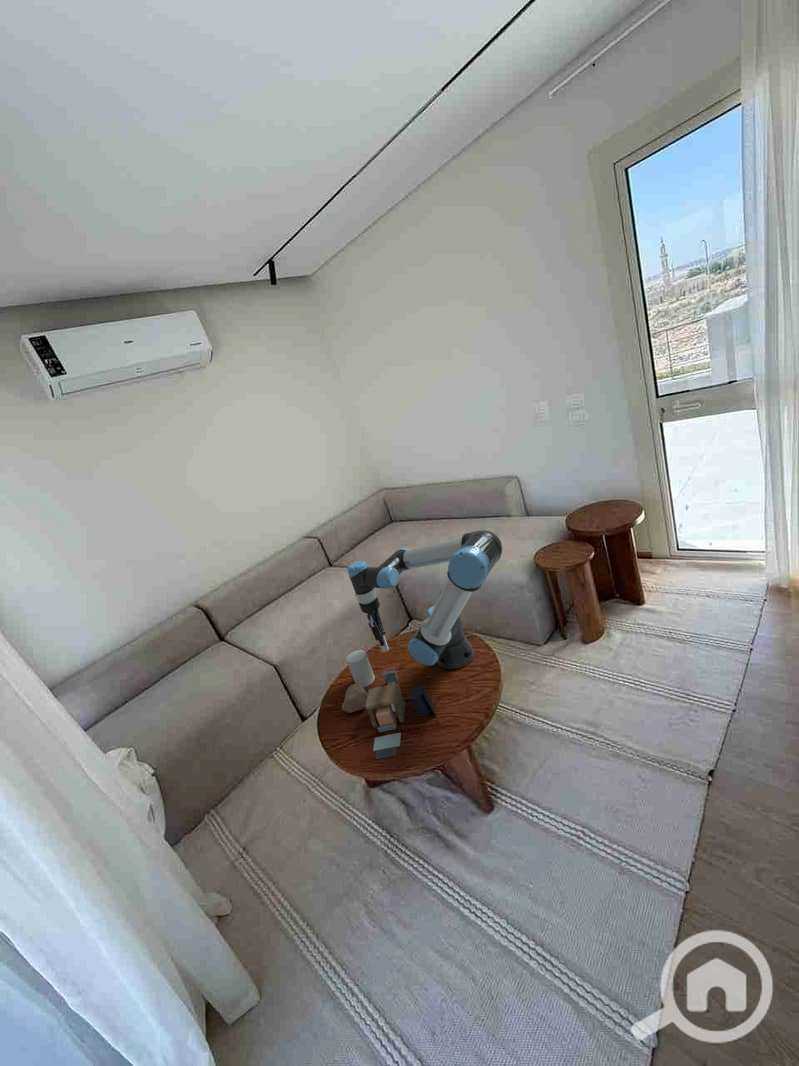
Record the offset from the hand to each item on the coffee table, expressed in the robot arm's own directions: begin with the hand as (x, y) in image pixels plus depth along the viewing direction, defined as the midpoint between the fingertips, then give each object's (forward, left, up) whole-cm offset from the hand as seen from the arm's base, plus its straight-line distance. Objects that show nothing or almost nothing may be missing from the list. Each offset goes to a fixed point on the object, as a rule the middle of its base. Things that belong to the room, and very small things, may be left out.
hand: (385, 650), depth 175 cm
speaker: (-13, +27, -11) cm, 32 cm away
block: (0, +29, -9) cm, 30 cm away
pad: (0, +37, -11) cm, 38 cm away
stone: (+14, +16, -11) cm, 23 cm away
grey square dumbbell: (0, +19, -10) cm, 22 cm away
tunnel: (0, +25, -11) cm, 27 cm away
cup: (+12, +2, -11) cm, 16 cm away
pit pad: (0, +42, -11) cm, 43 cm away
